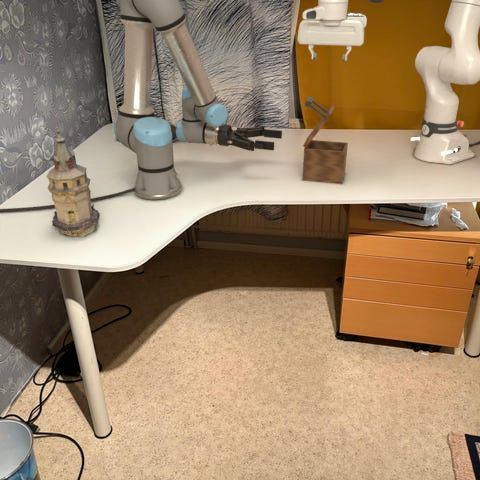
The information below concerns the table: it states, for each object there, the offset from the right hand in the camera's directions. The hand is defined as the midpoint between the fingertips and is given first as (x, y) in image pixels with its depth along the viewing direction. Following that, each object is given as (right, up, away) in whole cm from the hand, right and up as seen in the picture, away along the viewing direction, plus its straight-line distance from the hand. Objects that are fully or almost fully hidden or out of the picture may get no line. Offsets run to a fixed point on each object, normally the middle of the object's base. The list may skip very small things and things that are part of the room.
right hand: (329, 60), depth 168 cm
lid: (-1, -19, +11) cm, 22 cm away
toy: (-64, -14, +56) cm, 87 cm away
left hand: (-15, -22, +18) cm, 32 cm away
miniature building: (-75, -53, -12) cm, 93 cm away
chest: (+1, -34, +19) cm, 39 cm away
